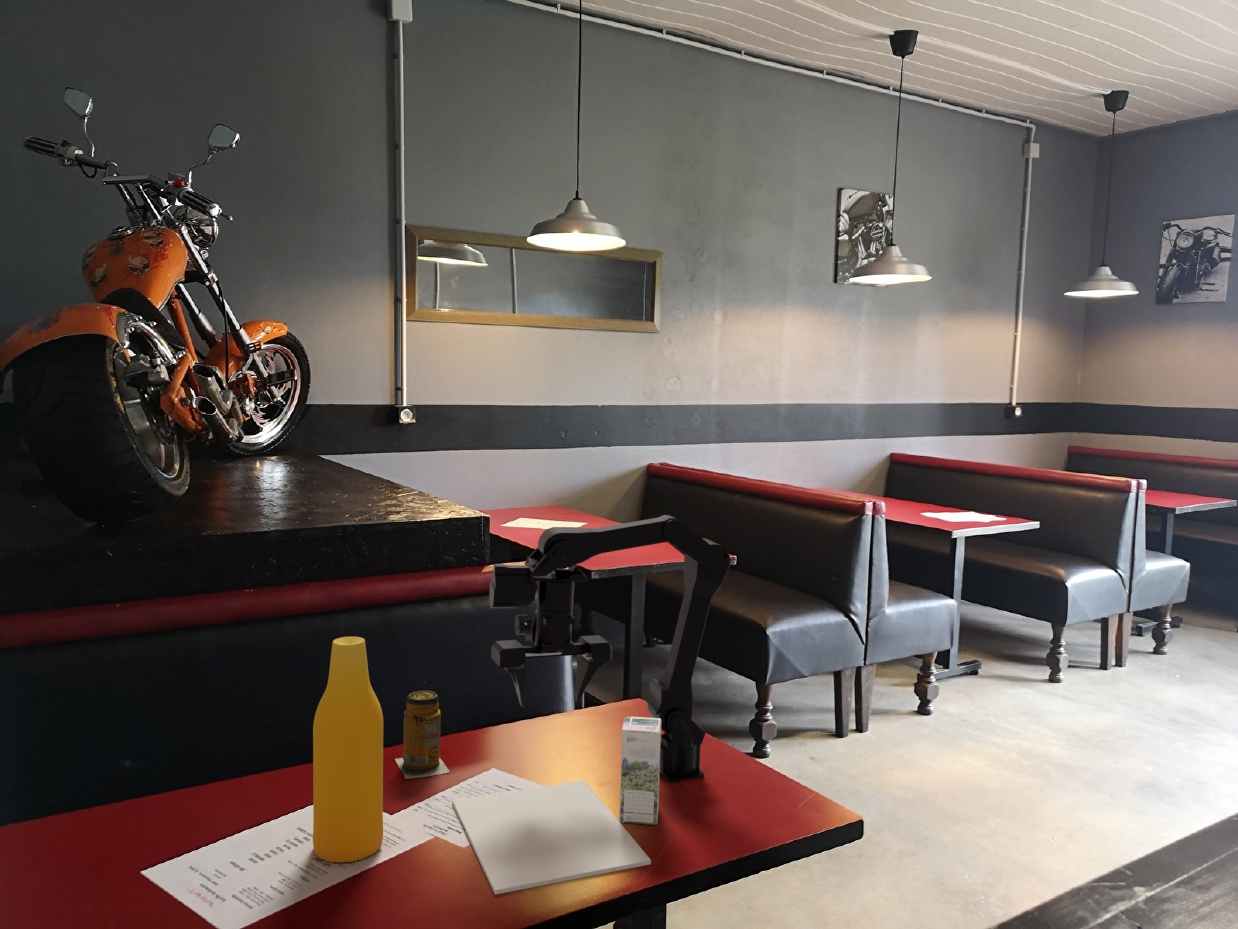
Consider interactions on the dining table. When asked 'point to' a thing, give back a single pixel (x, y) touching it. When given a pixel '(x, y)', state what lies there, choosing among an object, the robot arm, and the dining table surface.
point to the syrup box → (640, 770)
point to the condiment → (422, 737)
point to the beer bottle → (348, 759)
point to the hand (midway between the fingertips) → (549, 703)
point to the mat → (546, 836)
